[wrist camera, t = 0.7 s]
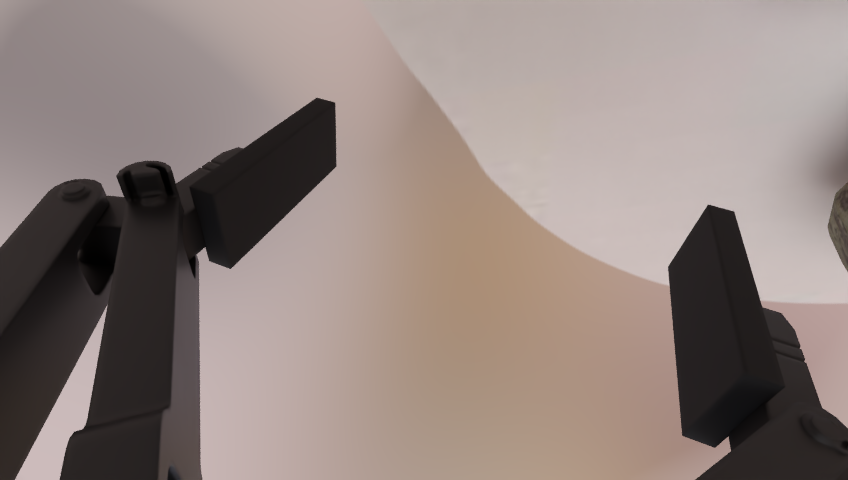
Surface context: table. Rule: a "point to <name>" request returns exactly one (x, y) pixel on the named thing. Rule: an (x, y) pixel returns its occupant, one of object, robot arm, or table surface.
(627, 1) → the table surface
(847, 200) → the tabletop clock
